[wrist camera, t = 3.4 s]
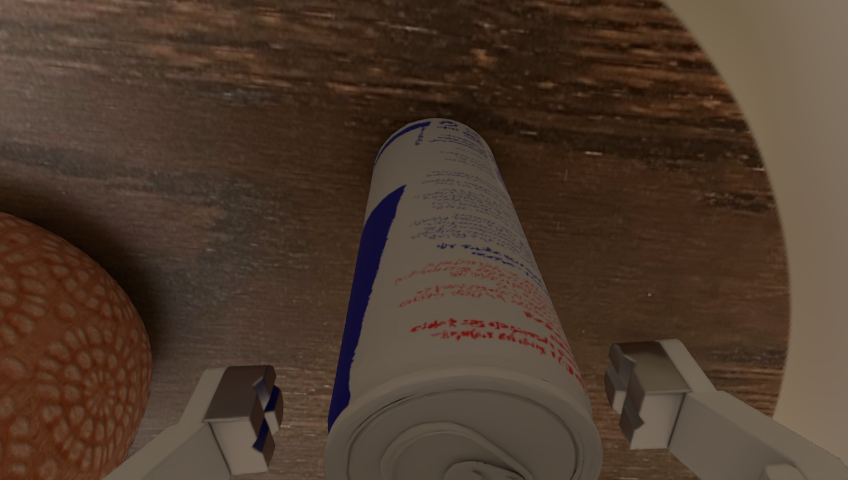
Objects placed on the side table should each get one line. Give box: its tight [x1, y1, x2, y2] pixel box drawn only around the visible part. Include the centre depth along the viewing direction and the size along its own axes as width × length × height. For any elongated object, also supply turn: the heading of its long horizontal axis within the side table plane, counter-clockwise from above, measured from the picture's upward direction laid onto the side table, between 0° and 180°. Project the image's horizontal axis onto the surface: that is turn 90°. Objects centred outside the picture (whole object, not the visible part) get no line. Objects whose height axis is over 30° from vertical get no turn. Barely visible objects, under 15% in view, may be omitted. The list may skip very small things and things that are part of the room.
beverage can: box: [324, 118, 603, 480], centre depth 16 cm, size 6×6×15 cm
